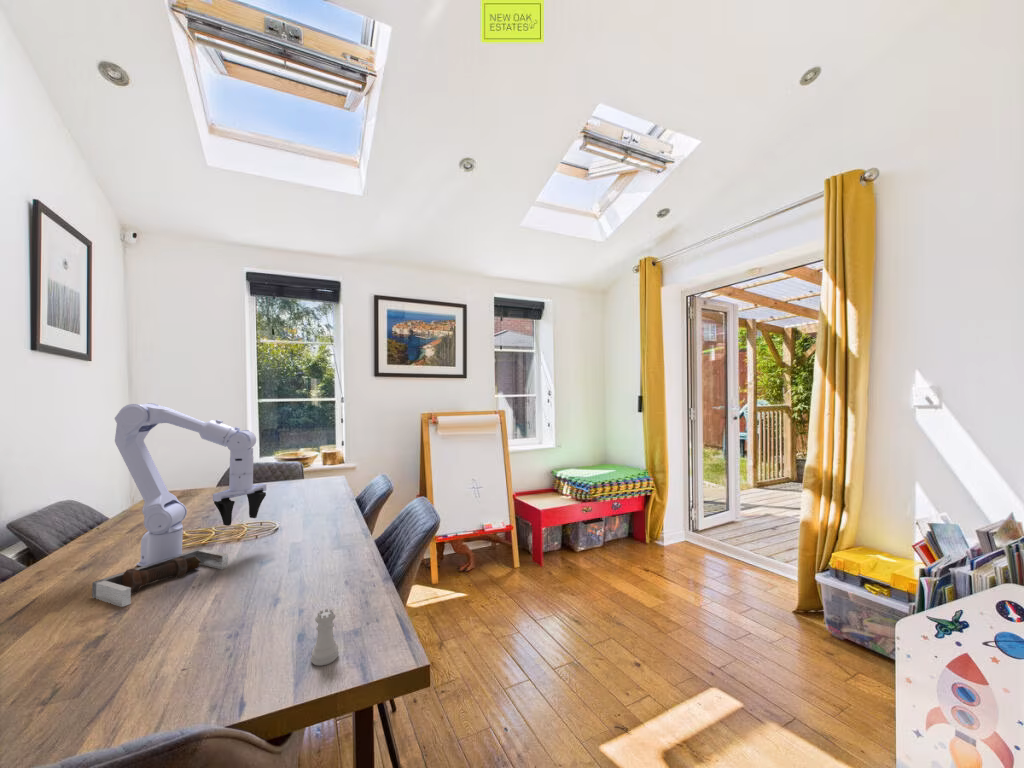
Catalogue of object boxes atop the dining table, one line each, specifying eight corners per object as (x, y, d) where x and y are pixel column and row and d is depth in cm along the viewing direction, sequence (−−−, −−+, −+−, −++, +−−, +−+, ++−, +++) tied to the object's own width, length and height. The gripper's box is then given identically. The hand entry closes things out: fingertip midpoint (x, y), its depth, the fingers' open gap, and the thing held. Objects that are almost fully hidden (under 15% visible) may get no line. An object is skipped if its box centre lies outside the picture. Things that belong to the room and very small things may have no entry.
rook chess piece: (316, 651, 76) (317, 606, 76) (342, 650, 76) (342, 605, 76) (306, 667, 71) (307, 619, 72) (333, 666, 72) (334, 618, 72)
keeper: (92, 597, 96) (92, 582, 96) (199, 561, 117) (199, 548, 117) (122, 607, 91) (122, 590, 92) (227, 567, 113) (228, 554, 113)
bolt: (198, 577, 111) (127, 600, 98) (189, 564, 113) (118, 585, 100) (206, 559, 111) (136, 579, 97) (196, 546, 112) (126, 565, 99)
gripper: (225, 478, 113) (224, 530, 113) (274, 470, 126) (273, 516, 126) (208, 476, 116) (206, 527, 115) (257, 468, 129) (256, 513, 129)
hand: (240, 521), depth 121 cm, fingers open, 7 cm apart
